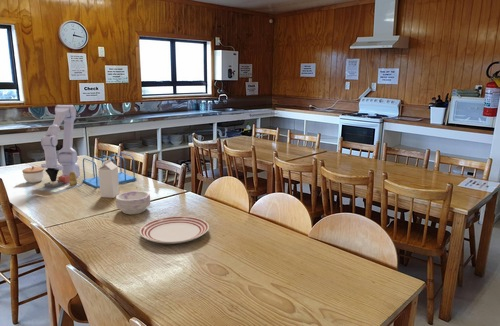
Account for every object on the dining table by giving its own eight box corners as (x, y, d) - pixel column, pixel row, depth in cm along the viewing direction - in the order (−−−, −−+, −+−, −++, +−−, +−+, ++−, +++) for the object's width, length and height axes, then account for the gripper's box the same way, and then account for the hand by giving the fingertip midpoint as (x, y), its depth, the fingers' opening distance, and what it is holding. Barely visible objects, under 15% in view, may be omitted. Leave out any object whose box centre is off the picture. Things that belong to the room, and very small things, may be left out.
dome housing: (55, 184, 217) (54, 180, 216) (63, 186, 215) (63, 181, 214) (44, 187, 211) (44, 183, 210) (53, 189, 208) (53, 185, 208)
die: (63, 181, 220) (62, 174, 219) (69, 182, 220) (69, 175, 219) (59, 183, 217) (58, 176, 216) (65, 184, 216) (64, 177, 215)
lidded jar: (38, 185, 216) (36, 169, 214) (19, 184, 216) (17, 168, 214) (48, 179, 226) (46, 164, 224) (30, 179, 226) (29, 164, 224)
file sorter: (96, 189, 210) (94, 162, 206) (82, 183, 221) (80, 157, 217) (136, 180, 227) (135, 155, 224) (122, 175, 239) (120, 151, 235)
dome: (54, 183, 215) (54, 179, 214) (59, 184, 214) (59, 180, 213) (48, 185, 211) (48, 181, 211) (53, 186, 210) (53, 182, 209)
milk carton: (119, 193, 202) (117, 159, 198) (113, 198, 195) (111, 162, 191) (106, 193, 203) (104, 158, 198) (100, 197, 196) (97, 161, 192)
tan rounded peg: (73, 183, 217) (72, 170, 215) (78, 184, 216) (77, 171, 214) (68, 185, 214) (67, 171, 212) (73, 185, 213) (71, 172, 211)
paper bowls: (134, 203, 188) (134, 188, 186) (157, 209, 180) (156, 193, 179) (109, 212, 175) (108, 196, 173) (132, 219, 168) (131, 202, 166)
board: (63, 182, 222) (63, 181, 222) (84, 185, 216) (84, 184, 216) (36, 190, 206) (36, 189, 206) (57, 194, 200) (57, 193, 200)
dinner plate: (137, 226, 161) (136, 219, 160) (200, 218, 171) (200, 211, 170) (143, 254, 136) (143, 246, 135) (217, 243, 146) (216, 235, 145)
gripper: (35, 157, 208) (38, 181, 211) (54, 160, 202) (57, 184, 206) (46, 155, 214) (48, 178, 217) (65, 157, 209) (67, 181, 212)
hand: (53, 181), depth 212 cm, fingers closed, pressing on dome
